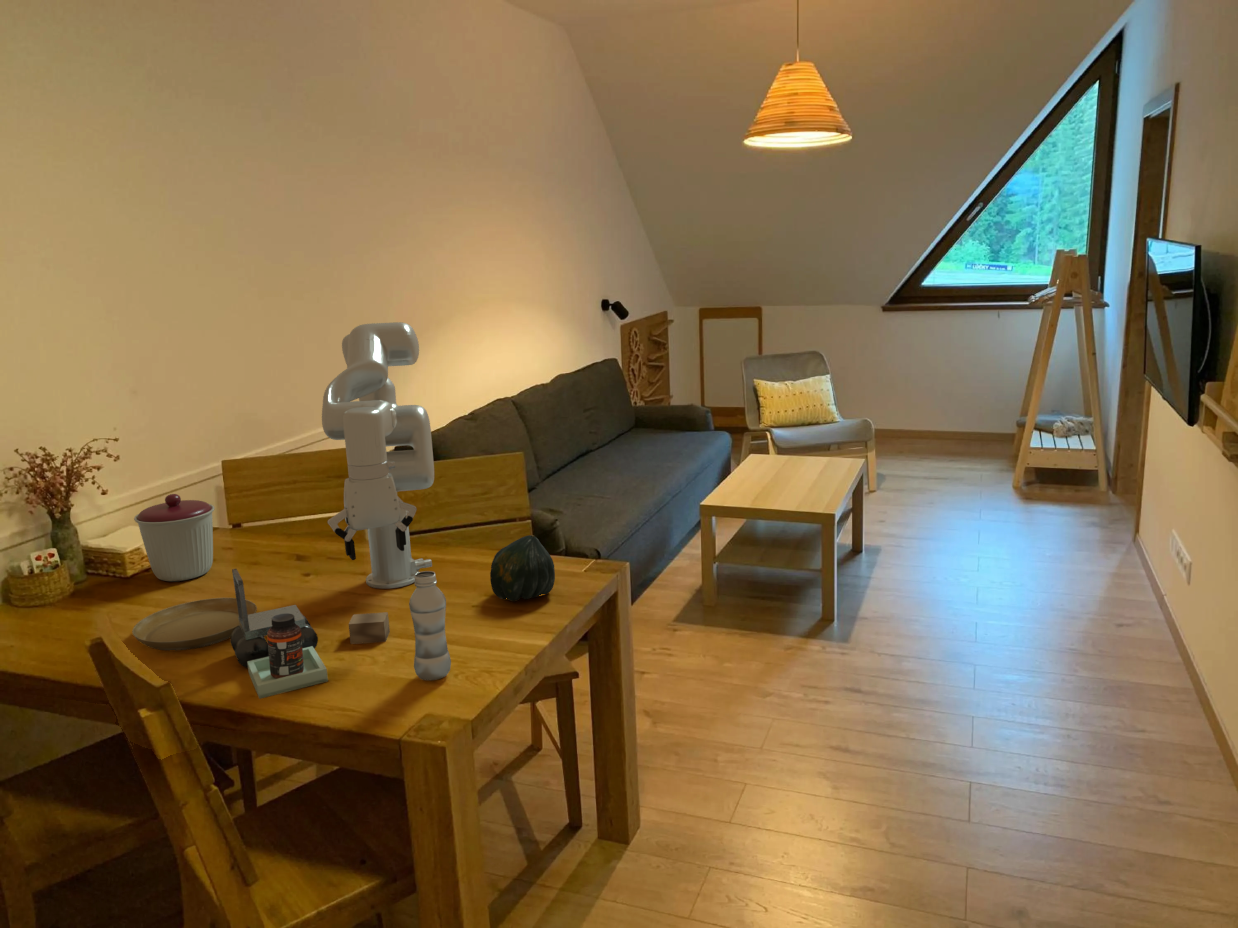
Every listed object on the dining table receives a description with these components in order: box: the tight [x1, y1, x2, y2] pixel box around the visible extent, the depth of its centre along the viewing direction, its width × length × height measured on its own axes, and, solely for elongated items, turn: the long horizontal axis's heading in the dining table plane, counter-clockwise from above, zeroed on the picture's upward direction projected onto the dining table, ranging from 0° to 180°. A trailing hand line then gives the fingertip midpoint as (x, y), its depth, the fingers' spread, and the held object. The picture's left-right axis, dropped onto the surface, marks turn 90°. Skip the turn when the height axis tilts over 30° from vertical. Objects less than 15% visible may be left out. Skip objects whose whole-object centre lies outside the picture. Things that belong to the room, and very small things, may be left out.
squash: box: [489, 534, 556, 602], centre depth 203 cm, size 14×15×15 cm
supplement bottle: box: [266, 613, 304, 679], centre depth 166 cm, size 6×6×11 cm
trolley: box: [229, 568, 319, 669], centre depth 176 cm, size 15×9×18 cm, turn 120°
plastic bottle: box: [408, 570, 452, 681], centre depth 164 cm, size 6×7×20 cm
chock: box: [348, 611, 391, 645], centre depth 184 cm, size 7×5×4 cm
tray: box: [247, 646, 329, 700], centre depth 167 cm, size 12×12×2 cm
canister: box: [133, 493, 215, 582], centre depth 225 cm, size 18×18×21 cm
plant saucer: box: [132, 597, 258, 651], centre depth 191 cm, size 24×24×3 cm
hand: (376, 553), depth 180 cm, fingers open, 9 cm apart
